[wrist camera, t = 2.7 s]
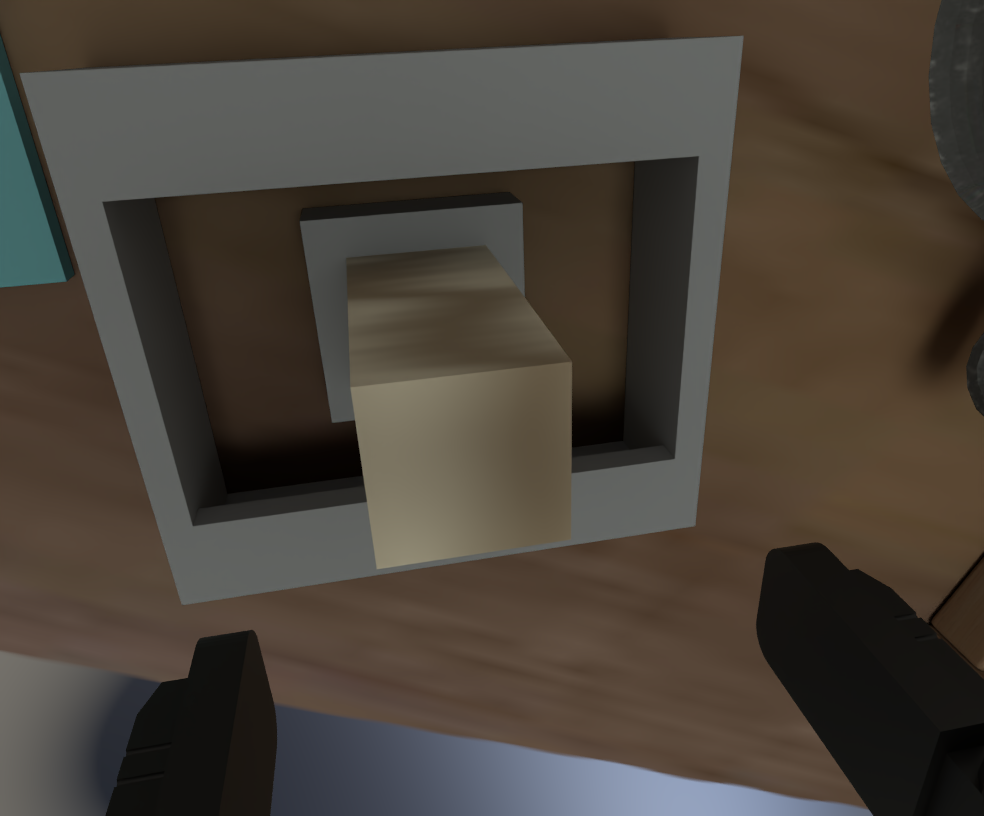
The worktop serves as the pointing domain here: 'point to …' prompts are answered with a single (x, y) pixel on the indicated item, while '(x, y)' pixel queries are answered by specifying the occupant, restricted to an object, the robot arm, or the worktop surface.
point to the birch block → (456, 407)
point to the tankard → (961, 123)
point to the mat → (25, 200)
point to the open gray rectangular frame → (386, 230)
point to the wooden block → (965, 620)
